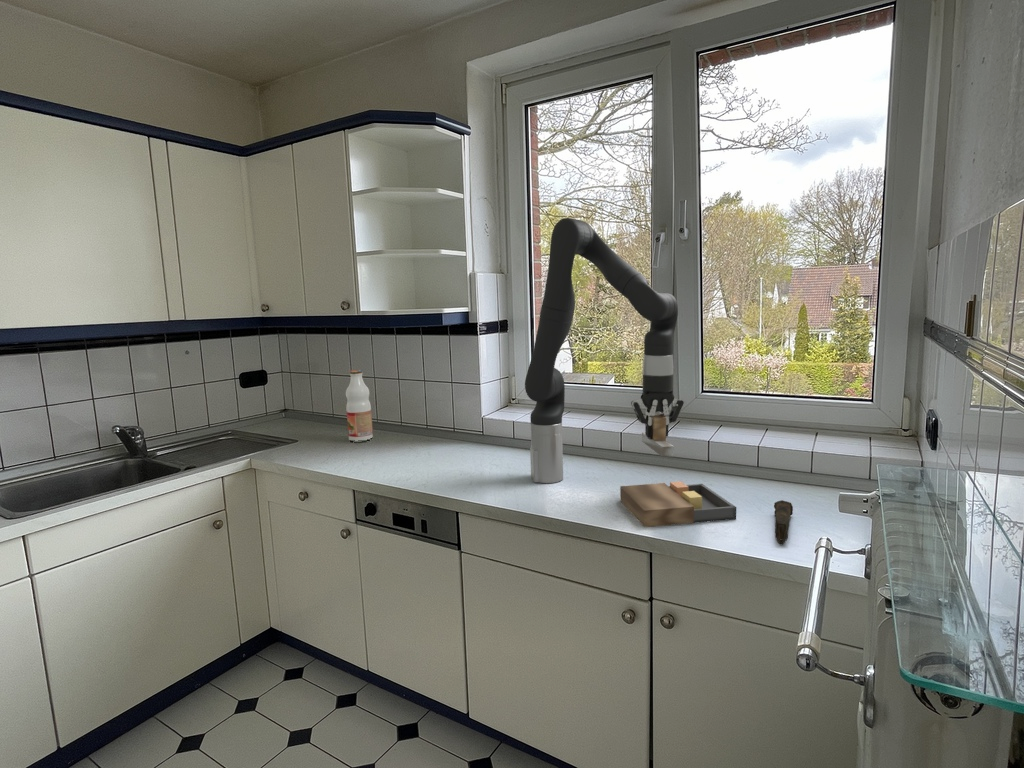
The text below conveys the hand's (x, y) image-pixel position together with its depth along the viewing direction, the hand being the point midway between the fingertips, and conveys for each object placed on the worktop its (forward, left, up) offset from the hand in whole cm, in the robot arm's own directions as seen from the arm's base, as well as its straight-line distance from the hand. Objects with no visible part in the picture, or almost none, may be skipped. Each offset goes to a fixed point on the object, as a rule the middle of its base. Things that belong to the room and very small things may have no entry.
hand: (656, 438), depth 150 cm
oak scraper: (0, 0, -3) cm, 3 cm away
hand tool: (+20, -25, -17) cm, 36 cm away
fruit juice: (-87, +91, -17) cm, 127 cm away
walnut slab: (-3, -8, -17) cm, 19 cm away
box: (+8, -8, -17) cm, 20 cm away
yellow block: (+4, -12, -14) cm, 19 cm away
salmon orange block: (+4, -4, -14) cm, 15 cm away
